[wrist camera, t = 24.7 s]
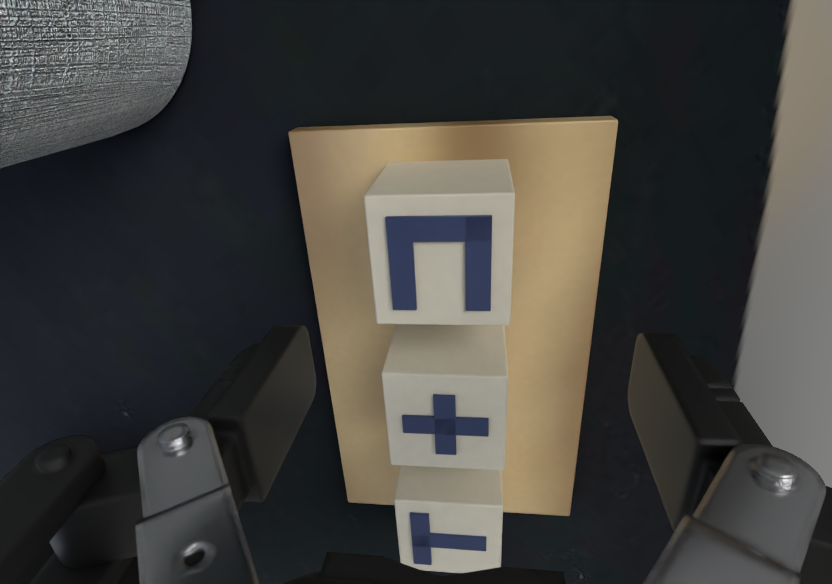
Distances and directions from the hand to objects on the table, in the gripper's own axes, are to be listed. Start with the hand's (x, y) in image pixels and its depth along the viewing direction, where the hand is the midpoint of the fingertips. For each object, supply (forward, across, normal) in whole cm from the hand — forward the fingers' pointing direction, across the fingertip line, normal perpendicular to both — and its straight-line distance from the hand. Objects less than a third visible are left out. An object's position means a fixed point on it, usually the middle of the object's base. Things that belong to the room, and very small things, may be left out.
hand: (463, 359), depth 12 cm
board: (+10, +1, +6) cm, 11 cm away
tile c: (+9, +1, -1) cm, 9 cm away
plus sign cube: (+9, +1, +6) cm, 10 cm away
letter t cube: (+9, +1, +12) cm, 15 cm away
